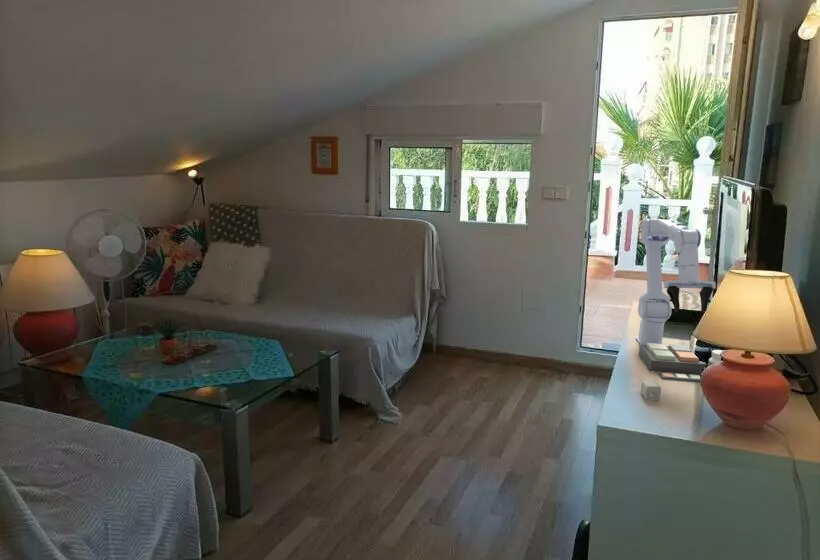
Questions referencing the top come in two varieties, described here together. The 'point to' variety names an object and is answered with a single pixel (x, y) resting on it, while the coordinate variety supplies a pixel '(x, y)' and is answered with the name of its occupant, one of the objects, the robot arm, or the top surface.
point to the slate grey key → (679, 348)
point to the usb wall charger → (651, 390)
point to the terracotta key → (686, 356)
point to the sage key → (663, 355)
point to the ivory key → (656, 347)
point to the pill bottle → (715, 357)
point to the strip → (680, 377)
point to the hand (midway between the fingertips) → (690, 311)
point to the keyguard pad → (669, 363)
